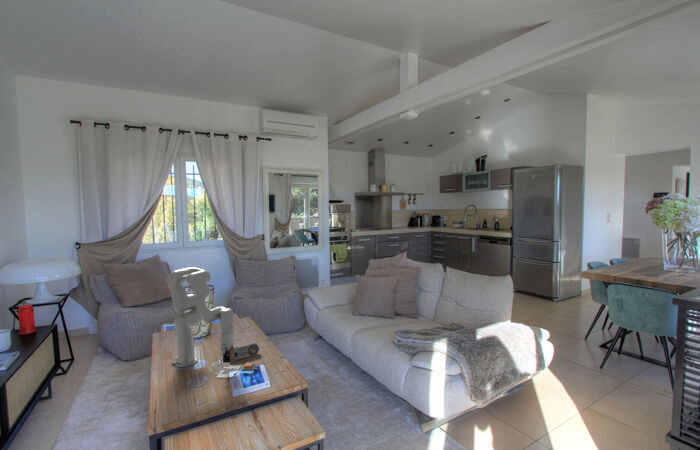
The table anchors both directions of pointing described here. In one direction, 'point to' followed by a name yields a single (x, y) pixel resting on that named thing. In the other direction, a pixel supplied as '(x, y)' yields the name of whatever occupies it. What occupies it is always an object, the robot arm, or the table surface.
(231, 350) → the rubber stamp
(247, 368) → the button housing
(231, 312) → the robot arm
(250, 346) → the game controller
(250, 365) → the button
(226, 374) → the drawing card
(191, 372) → the table surface
